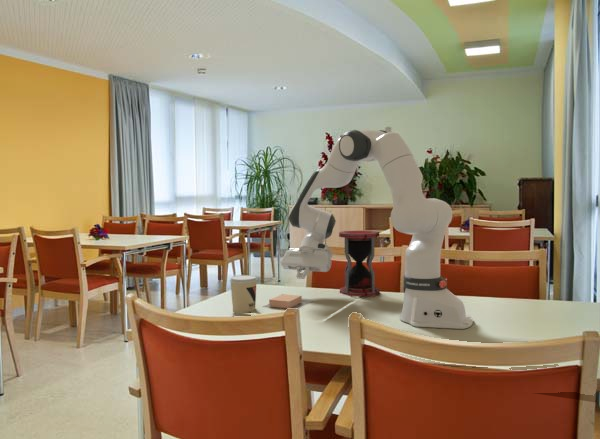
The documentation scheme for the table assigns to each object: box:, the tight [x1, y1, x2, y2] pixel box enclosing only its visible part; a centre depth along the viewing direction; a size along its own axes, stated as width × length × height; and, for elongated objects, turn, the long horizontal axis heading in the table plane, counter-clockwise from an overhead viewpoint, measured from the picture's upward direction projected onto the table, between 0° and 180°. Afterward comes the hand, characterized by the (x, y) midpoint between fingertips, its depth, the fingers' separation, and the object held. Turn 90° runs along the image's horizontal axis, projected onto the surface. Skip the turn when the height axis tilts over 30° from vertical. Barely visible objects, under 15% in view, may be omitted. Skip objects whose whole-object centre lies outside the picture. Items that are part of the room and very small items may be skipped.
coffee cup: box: [229, 274, 258, 315], centre depth 180 cm, size 9×9×12 cm
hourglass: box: [338, 230, 381, 298], centre depth 205 cm, size 16×16×25 cm
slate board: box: [262, 299, 314, 310], centre depth 187 cm, size 13×16×1 cm
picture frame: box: [268, 293, 303, 308], centre depth 185 cm, size 8×3×10 cm
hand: (300, 278), depth 196 cm, fingers closed
